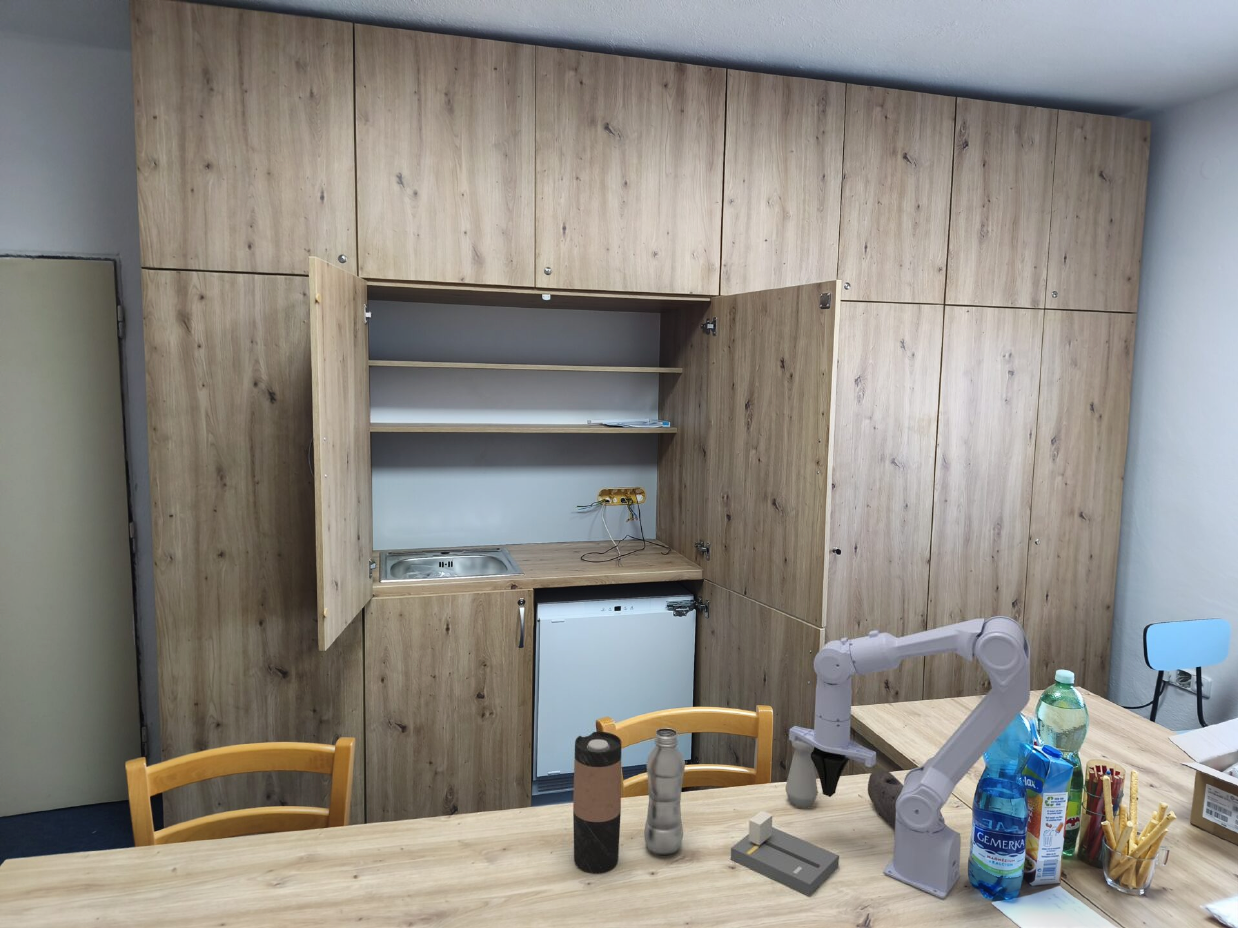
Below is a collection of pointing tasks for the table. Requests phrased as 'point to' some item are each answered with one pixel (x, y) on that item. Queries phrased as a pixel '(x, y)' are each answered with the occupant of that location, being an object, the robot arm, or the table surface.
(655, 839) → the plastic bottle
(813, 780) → the salt shaker
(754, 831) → the fader tab
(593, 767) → the travel mug
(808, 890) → the console board
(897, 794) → the perforated stone tool
